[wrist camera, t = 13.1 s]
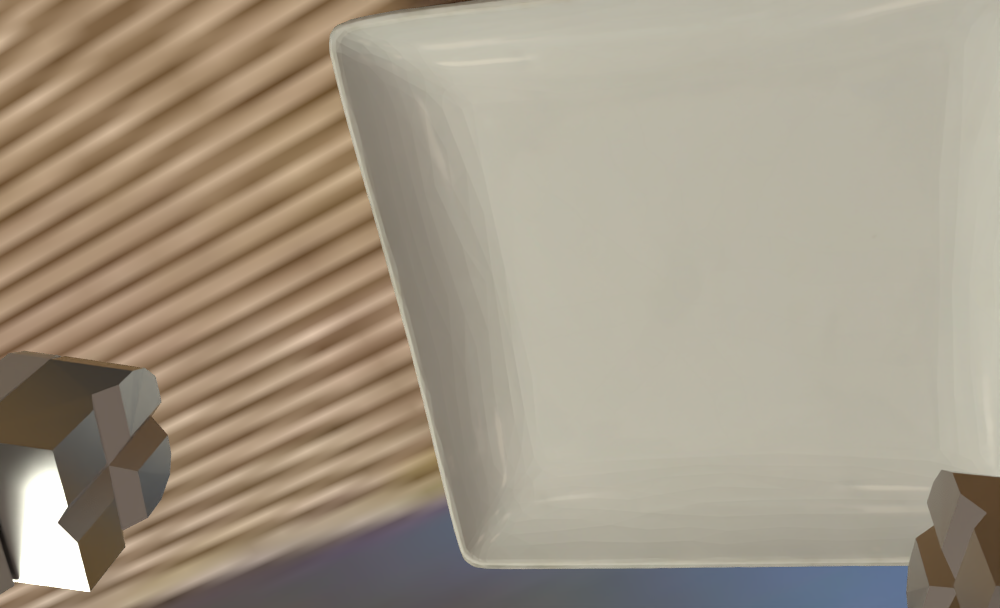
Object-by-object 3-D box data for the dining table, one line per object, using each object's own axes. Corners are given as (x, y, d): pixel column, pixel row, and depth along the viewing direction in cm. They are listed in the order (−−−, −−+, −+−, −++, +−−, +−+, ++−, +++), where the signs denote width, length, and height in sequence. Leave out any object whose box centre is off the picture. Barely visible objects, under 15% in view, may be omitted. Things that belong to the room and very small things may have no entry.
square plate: (477, 525, 50) (461, 577, 46) (350, 5, 38) (315, 24, 34) (1037, 516, 43) (1066, 577, 40) (1097, -121, 31) (1146, -111, 28)
